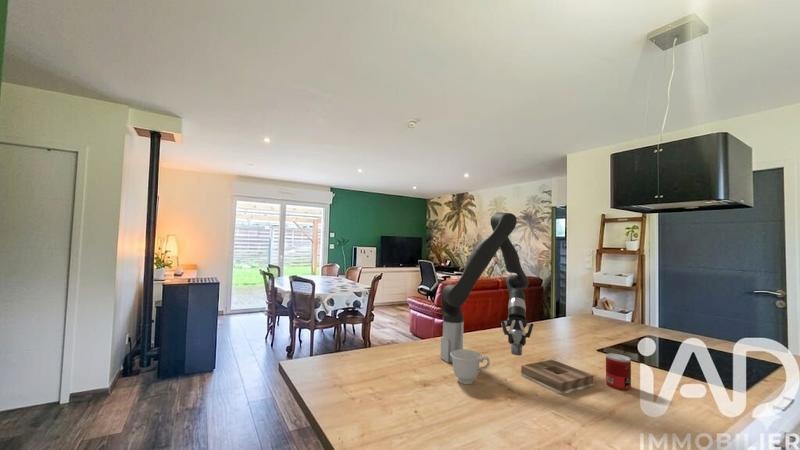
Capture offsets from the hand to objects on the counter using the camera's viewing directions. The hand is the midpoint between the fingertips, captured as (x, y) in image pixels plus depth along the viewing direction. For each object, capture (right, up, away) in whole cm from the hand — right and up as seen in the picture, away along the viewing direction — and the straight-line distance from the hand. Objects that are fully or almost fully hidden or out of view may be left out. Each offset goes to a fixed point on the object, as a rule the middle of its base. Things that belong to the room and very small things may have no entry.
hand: (516, 344), depth 140 cm
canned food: (+33, -11, -15) cm, 38 cm away
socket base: (+11, -10, -11) cm, 19 cm away
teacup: (-23, -9, -14) cm, 29 cm away
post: (0, -5, +2) cm, 5 cm away
